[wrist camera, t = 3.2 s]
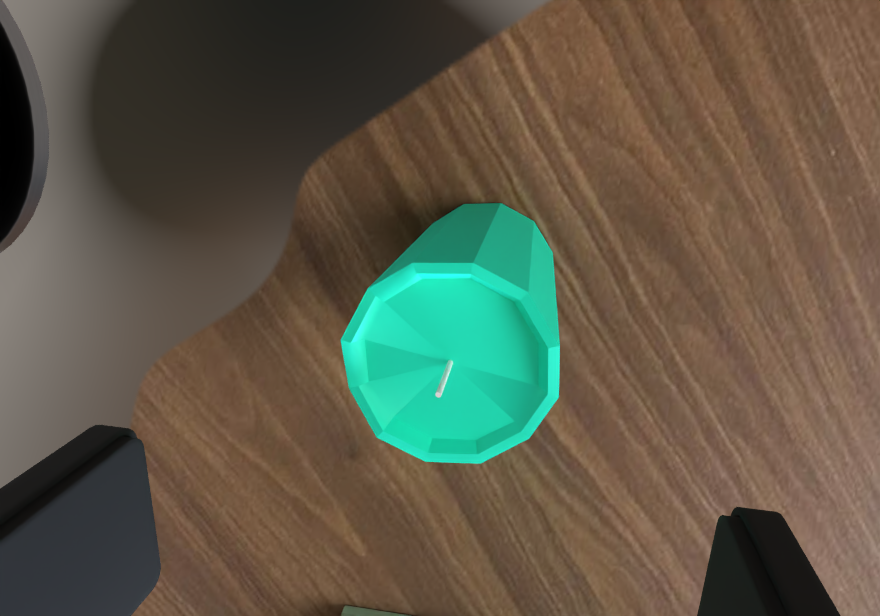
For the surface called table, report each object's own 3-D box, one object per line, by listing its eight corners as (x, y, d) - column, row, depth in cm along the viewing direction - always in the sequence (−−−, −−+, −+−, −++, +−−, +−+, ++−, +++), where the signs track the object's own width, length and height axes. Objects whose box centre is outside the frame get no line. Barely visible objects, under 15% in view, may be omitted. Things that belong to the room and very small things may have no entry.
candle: (533, 182, 24) (526, 243, 13) (570, 318, 26) (592, 478, 14) (397, 223, 26) (283, 310, 14) (439, 350, 27) (366, 518, 16)
